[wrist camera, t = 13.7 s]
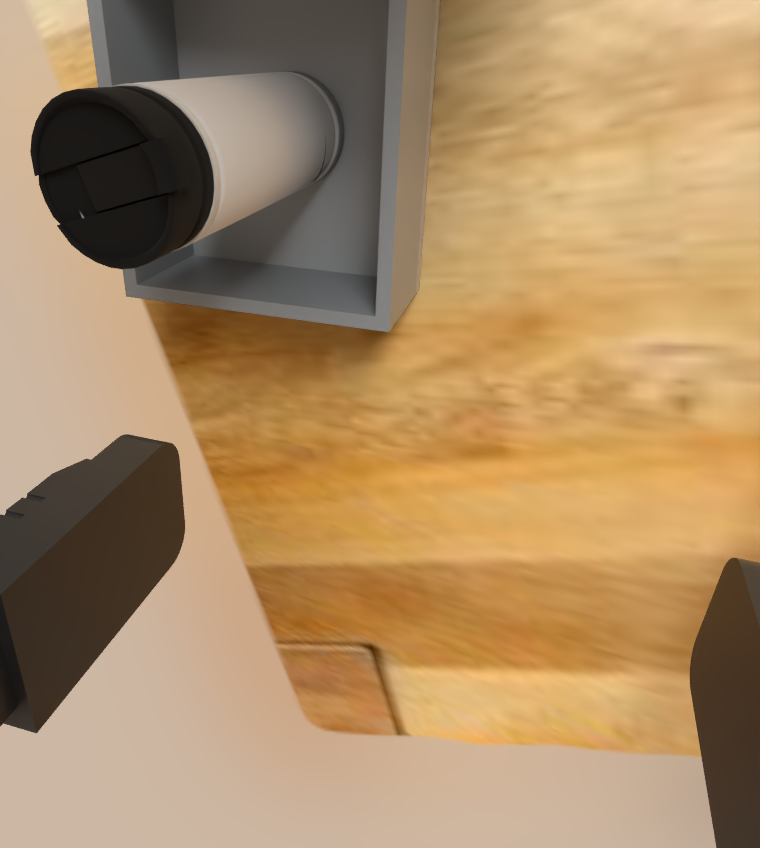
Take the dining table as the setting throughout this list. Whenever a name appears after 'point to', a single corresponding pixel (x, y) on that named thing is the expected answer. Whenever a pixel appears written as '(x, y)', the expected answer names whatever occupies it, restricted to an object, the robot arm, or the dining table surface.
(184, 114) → the travel mug
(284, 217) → the crate
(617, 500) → the dining table surface
